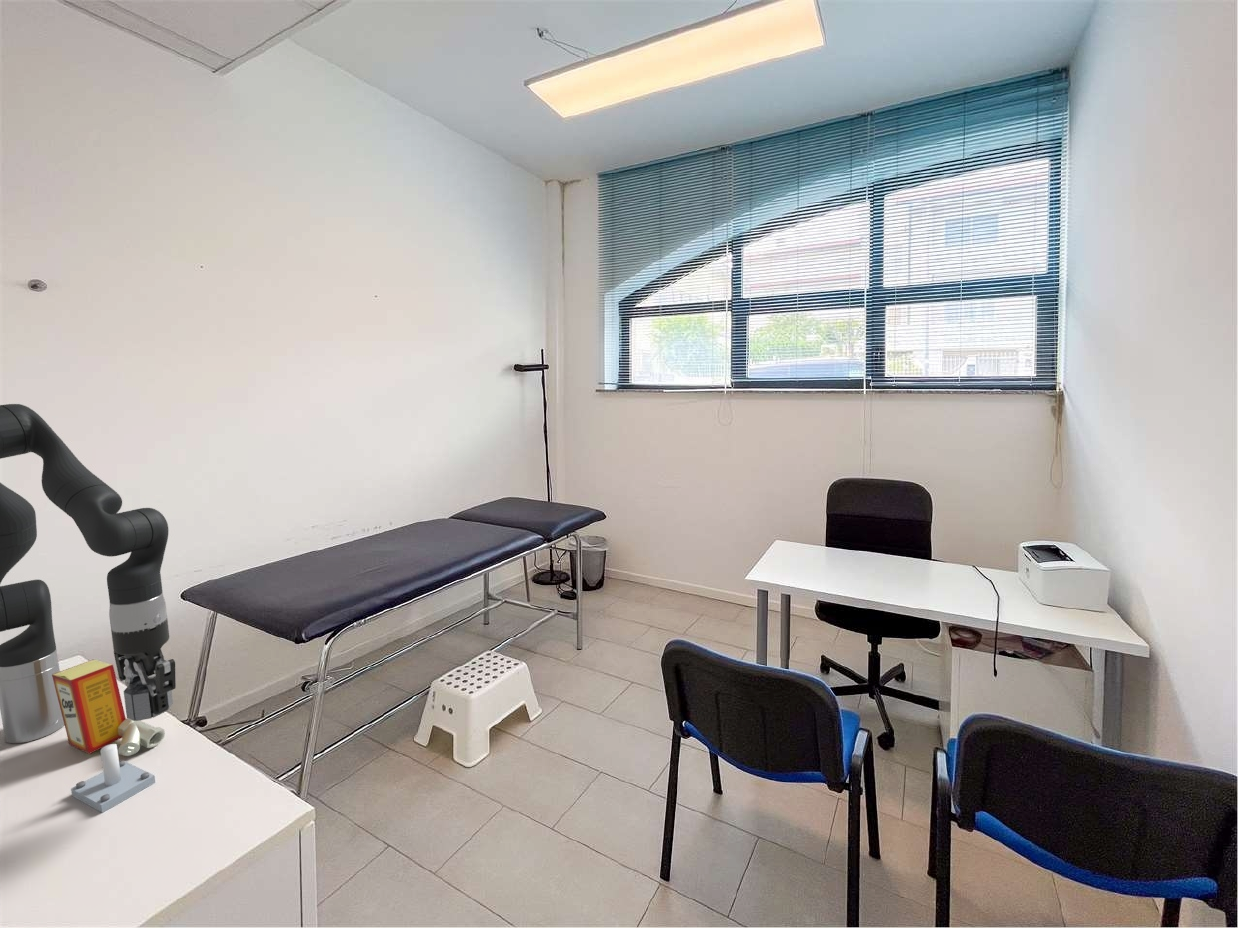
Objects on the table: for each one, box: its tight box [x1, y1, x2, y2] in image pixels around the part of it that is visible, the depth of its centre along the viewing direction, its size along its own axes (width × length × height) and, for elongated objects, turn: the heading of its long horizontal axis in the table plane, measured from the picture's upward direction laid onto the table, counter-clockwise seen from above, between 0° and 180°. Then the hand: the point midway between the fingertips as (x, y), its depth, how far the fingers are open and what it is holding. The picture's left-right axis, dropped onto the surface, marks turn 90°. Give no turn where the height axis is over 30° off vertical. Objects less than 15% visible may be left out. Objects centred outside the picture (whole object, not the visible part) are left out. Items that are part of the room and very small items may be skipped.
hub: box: [123, 675, 174, 721], centre depth 98 cm, size 6×6×5 cm
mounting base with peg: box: [70, 743, 156, 814], centre depth 100 cm, size 10×8×8 cm
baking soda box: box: [52, 659, 127, 754], centre depth 112 cm, size 10×6×16 cm
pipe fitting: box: [117, 717, 166, 757], centre depth 111 cm, size 8×4×7 cm
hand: (149, 706), depth 98 cm, fingers closed on hub, 6 cm apart
